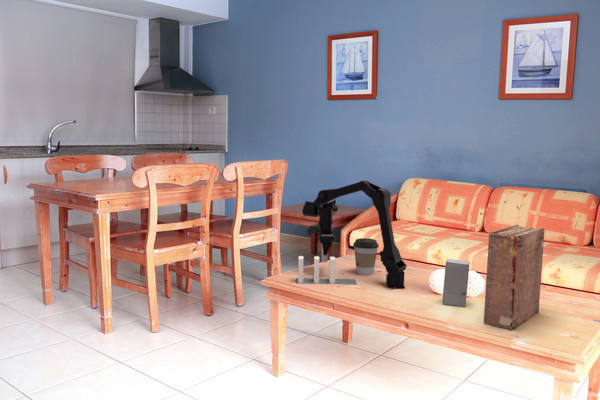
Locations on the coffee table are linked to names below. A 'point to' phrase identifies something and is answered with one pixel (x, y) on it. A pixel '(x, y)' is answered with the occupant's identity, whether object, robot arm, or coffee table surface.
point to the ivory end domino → (300, 269)
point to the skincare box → (455, 282)
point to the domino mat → (326, 281)
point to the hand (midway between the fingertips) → (324, 253)
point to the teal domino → (324, 256)
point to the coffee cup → (365, 255)
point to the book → (513, 276)
